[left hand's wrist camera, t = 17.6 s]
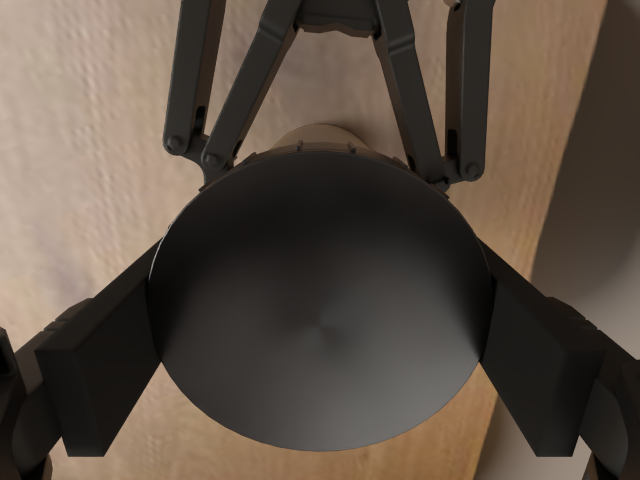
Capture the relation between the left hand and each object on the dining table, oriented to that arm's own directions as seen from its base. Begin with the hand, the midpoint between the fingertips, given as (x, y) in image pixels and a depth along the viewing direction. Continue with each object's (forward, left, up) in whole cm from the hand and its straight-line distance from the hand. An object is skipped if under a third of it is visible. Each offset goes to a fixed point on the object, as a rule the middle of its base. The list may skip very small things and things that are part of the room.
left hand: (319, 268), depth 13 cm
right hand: (-5, -1, -7) cm, 9 cm away
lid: (0, 0, +3) cm, 3 cm away
